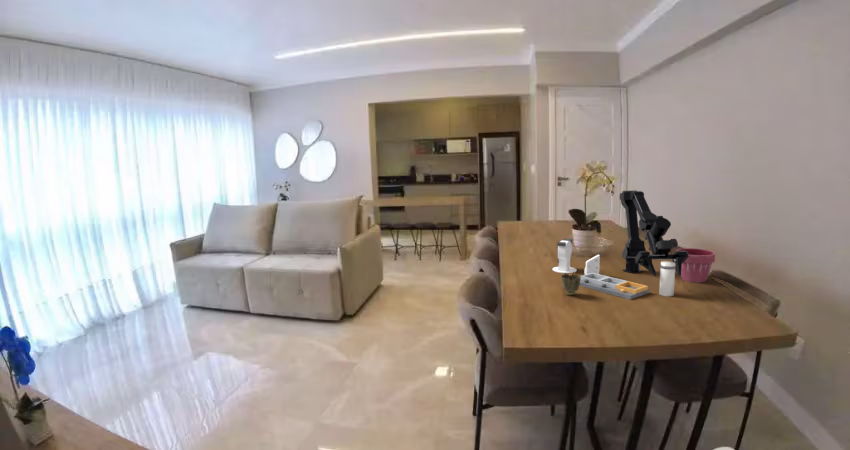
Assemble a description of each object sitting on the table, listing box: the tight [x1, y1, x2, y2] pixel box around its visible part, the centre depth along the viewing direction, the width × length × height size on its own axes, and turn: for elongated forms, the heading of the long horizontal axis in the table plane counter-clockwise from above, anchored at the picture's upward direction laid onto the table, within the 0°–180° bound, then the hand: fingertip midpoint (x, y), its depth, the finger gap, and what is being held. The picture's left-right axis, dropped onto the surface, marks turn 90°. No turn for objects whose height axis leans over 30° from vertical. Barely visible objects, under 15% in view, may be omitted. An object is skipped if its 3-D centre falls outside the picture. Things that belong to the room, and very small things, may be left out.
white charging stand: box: [552, 238, 577, 274], centre depth 203 cm, size 12×11×15 cm
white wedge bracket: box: [583, 254, 601, 275], centre depth 193 cm, size 4×10×9 cm, turn 84°
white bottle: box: [658, 260, 676, 297], centre depth 163 cm, size 5×5×13 cm
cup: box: [560, 273, 582, 296], centre depth 167 cm, size 8×7×8 cm
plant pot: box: [675, 247, 716, 284], centre depth 180 cm, size 14×14×13 cm
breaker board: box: [579, 273, 650, 301], centre depth 173 cm, size 13×26×3 cm, turn 32°
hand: (667, 275), depth 162 cm, fingers open, 9 cm apart
